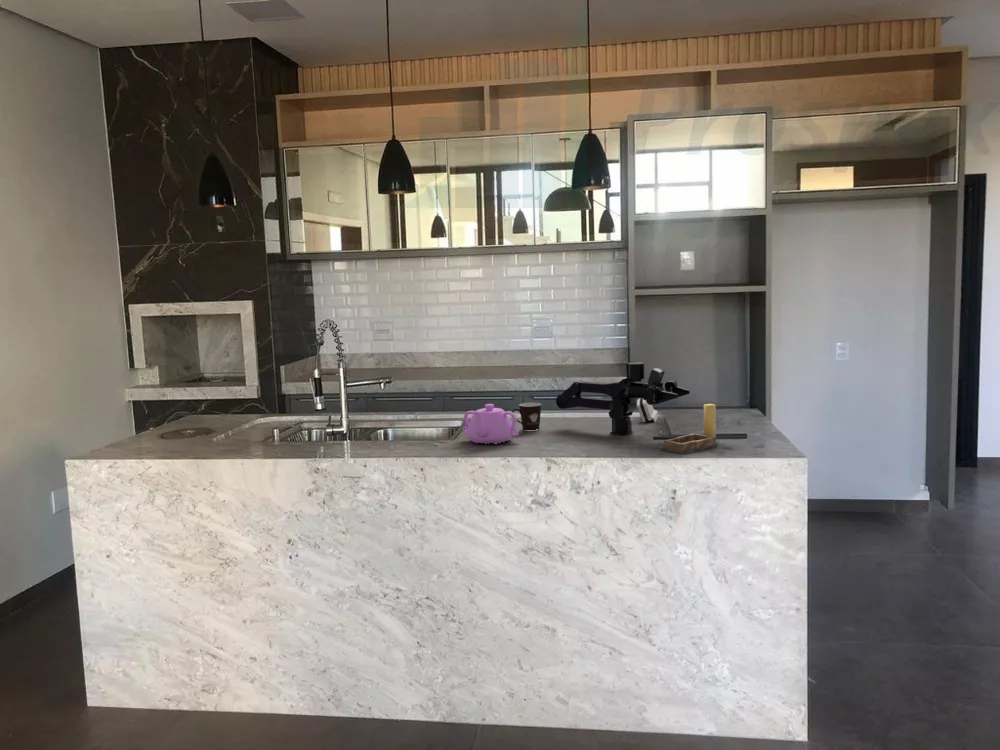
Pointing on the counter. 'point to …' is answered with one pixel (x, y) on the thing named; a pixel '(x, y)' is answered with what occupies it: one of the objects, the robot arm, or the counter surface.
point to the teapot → (490, 425)
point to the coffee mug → (530, 415)
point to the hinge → (646, 411)
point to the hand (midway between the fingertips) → (683, 394)
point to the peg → (710, 420)
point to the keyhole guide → (689, 443)
